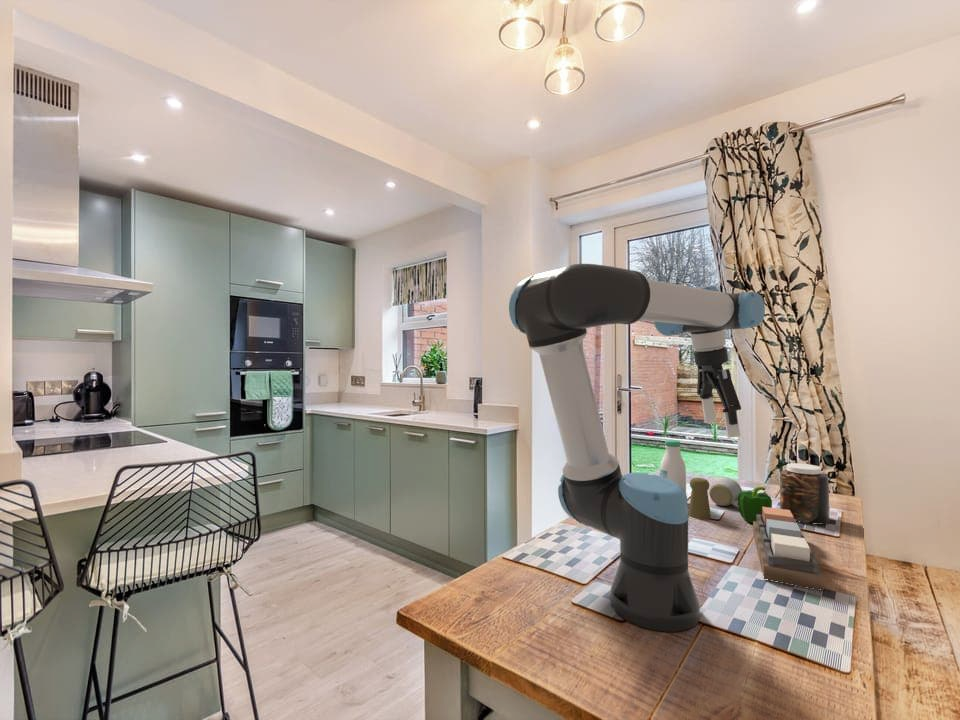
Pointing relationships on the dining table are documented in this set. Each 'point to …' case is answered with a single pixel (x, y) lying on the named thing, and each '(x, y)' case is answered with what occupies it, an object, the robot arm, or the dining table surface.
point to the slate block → (782, 528)
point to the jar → (805, 493)
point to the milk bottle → (673, 464)
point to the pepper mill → (699, 499)
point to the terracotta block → (776, 514)
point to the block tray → (785, 562)
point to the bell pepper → (753, 503)
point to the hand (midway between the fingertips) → (721, 428)
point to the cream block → (790, 547)
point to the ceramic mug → (725, 492)
